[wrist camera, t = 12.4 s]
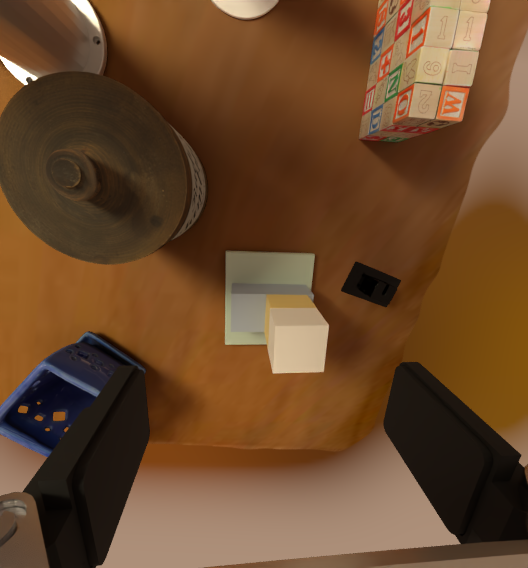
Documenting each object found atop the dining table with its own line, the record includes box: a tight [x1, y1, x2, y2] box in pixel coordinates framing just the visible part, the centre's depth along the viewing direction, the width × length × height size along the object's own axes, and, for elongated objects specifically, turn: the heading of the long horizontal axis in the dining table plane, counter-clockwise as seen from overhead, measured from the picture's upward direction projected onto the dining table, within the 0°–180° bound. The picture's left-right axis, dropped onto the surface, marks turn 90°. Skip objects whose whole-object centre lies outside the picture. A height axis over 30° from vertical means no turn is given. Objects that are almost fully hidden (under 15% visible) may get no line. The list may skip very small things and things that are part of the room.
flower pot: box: [0, 331, 146, 457], centre depth 41 cm, size 13×13×12 cm
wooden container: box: [0, 71, 208, 264], centre depth 28 cm, size 15×15×22 cm
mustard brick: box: [264, 294, 316, 348], centre depth 38 cm, size 6×6×5 cm
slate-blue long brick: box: [231, 283, 314, 332], centre depth 42 cm, size 12×6×5 cm, turn 87°
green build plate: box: [225, 250, 315, 345], centre depth 45 cm, size 14×16×1 cm
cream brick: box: [268, 308, 329, 373], centre depth 33 cm, size 6×6×5 cm
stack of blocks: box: [359, 0, 490, 142], centre depth 31 cm, size 21×6×12 cm, turn 177°
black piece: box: [341, 262, 401, 307], centre depth 45 cm, size 12×7×5 cm, turn 68°
